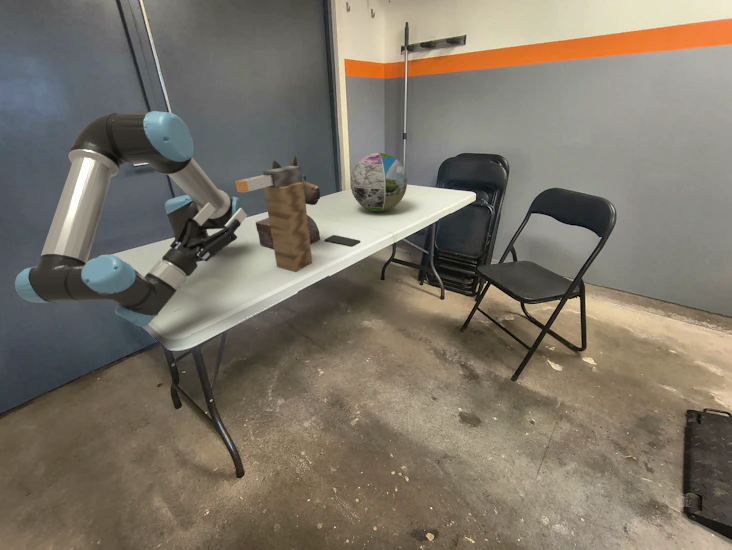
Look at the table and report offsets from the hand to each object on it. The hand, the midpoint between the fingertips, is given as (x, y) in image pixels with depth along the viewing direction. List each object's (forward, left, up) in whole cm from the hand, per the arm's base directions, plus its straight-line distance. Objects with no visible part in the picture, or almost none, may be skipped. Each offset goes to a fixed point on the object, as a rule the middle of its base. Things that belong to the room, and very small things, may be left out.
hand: (227, 208), depth 91 cm
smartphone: (+41, +30, -27) cm, 57 cm away
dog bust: (+23, +34, -27) cm, 49 cm away
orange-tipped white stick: (+13, +11, +3) cm, 17 cm away
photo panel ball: (+73, +67, -27) cm, 103 cm away
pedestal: (+18, +14, -26) cm, 35 cm away
